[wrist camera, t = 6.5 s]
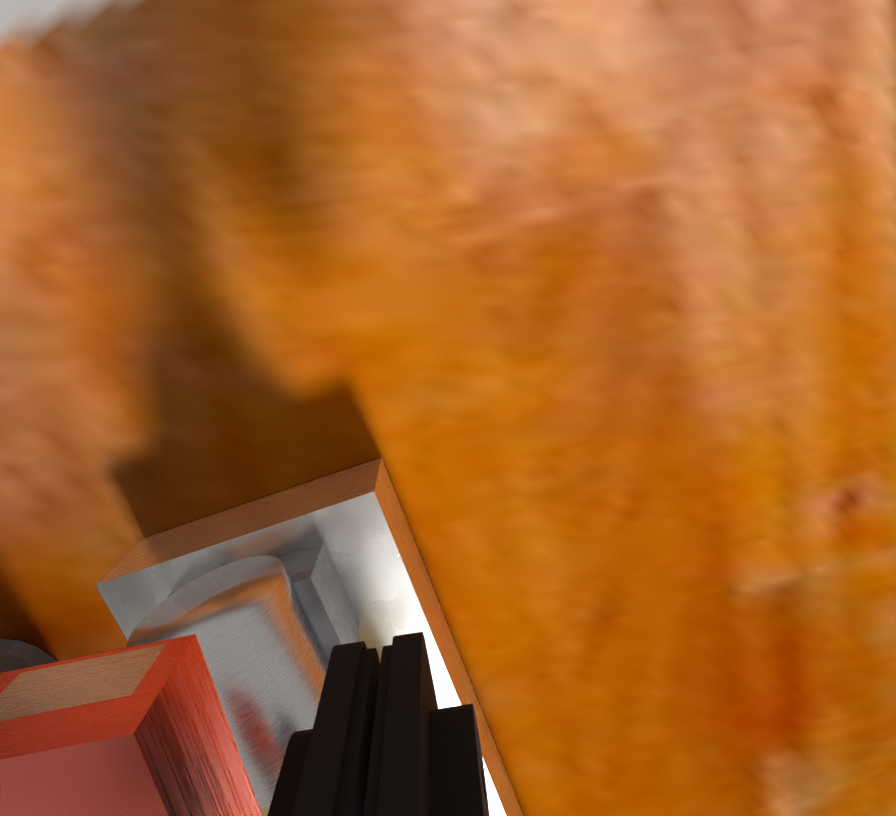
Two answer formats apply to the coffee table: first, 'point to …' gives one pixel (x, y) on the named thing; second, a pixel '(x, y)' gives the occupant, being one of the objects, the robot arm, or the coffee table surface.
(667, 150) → the coffee table surface
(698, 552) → the coffee table surface
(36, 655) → the beverage cup
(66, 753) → the valve lever
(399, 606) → the pipe valve board
